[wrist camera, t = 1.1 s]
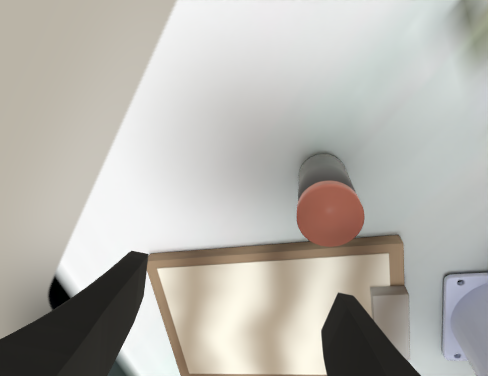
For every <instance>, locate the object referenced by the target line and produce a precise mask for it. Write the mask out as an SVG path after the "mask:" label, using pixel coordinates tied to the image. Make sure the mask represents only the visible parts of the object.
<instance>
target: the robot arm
mask: <svg viewBox="0 0 488 376" xmlns="http://www.w3.org/2000/svg"><path fill="white" fill-rule="evenodd" d="M148 255H149V254H145V253H140V252H135V251H131V252H129V253H128V254H127V255H126V256H125V257H123V258H122V259H121V260H120V261H119V262H118V263H116V264H115V265H114V266H113V267H112V268H111V269H109V270H108V271H107V272H106V273H104V274H103V275H102V276H101V277H99V278H98V279H97V280H95V281H94V282H93V283H92V284H90V285H89V286H88V287H86V288H85V289H84V290H82V291H81V292H79V293H78V294H76V295H75V296H74V297H72V298H71V299H69V300H68V301H66V302H65V303H63V304H62V305H60V306H59V307H57V308H56V309H54V310H52V311H51V312H50V313H48V314H46V315H44V316H43V317H41V318H39V319H37V320H36V321H34V322H32V323H30V324H28V325H27V326H25V327H23V328H21V329H19V330H17V331H16V332H14V333H12V334H10V335H8V336H6V337H4V338H2V339H0V376H107V375H108V373H109V371H110V369H111V367H112V365H113V363H114V361H115V359H116V357H117V355H118V353H119V351H120V349H121V347H122V345H123V343H124V341H125V339H126V337H127V335H128V333H129V331H130V329H131V327H132V325H133V323H134V321H135V318H136V316H137V313H138V310H139V308H140V305H141V302H142V299H143V296H144V288H145V280H146V272H147V263H148ZM458 280H462V281H461V282H457V281H458ZM321 338H322V349H323V359H324V364H325V368H326V373H327V376H421V375H420V374H419V373H418V372H417V371H416V370H415V369H414V368H413V367H412V366H411V364H410V363H409V362H408V361H407V360H406V359H405V358H404V357H403V355H402V354H401V353H400V352H399V351H398V350H397V348H396V347H395V346H394V345H393V344H392V343H391V341H390V340H389V339H388V338H387V336H386V335H385V334H384V333H383V332H382V330H381V329H380V328H379V327H378V325H377V324H376V323H375V322H374V320H373V319H372V318H371V316H370V315H369V314H368V313H367V311H366V310H365V309H364V308H363V306H362V305H361V304H360V303H359V301H358V300H357V299H356V298H355V297H354V296H353V295H348V294H343V293H339V292H338V294H337V296H336V298H335V300H334V303H333V305H332V307H331V309H330V312H329V314H328V316H327V318H326V321H325V323H324V325H323V327H322V330H321ZM442 353H443V356H444V358H445V359H447V360H468V361H469V363H470V365H471V367H472V368H473V370H474V372H475V374H476V375H477V376H488V273H471V274H451V275H448V276H446V277H445V278H444V299H443V343H442ZM457 353H458V354H457ZM455 354H456V355H455Z"/></svg>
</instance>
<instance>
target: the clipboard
mask: <svg viewBox="0 0 488 376" xmlns="http://www.w3.org/2000/svg"><path fill="white" fill-rule="evenodd" d="M147 272H148V275H149V278H150V281H151V284H152V287H153V291H154V294H155V297H156V300H157V303H158V306H159V309H160V312H161V316H162V319H163V322H164V325H165V328H166V331H167V334H168V337H169V341H170V344H171V347H172V350H173V353H174V356H175V359H176V362H177V366H178V369H179V372H180V375H181V376H327V373H326V368H325V364H324V359H323V349H322V338H321V330H322V327H323V325H324V323H325V321H326V318H327V316H328V314H329V312H330V309H331V307H332V305H333V303H334V300H335V298H336V296H337V294H338V292H339V293H343V294H348V295H353V296H354V297H355V298H356V299H357V300H358V301H359V303H360V304H361V305H362V306H363V308H364V309H365V310H366V311H367V313H368V314H369V315H370V316H371V318H372V319H373V320H374V322H375V323H376V324H377V325H378V327H379V328H380V329H381V330H382V332H383V333H384V334H385V335H386V336H387V338H388V339H389V340H390V341H391V343H392V344H393V345H394V346H395V347H396V348H397V350H398V351H399V352H400V353H401V354H402V355H403V357H404V358H405V359H410V331H409V294H408V292H407V290H406V287H405V286H404V250H403V242H402V240H401V238H400V236H399V235H390V236H377V237H364V238H354V239H352V240H351V241H349V242H348V243H346V244H343V245H340V246H334V247H326V246H320V245H317V244H315V243H313V242H298V243H285V244H271V245H258V246H245V247H232V248H219V249H206V250H193V251H179V252H166V253H153V254H150V255H149V256H148V263H147Z"/></svg>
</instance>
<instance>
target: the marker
mask: <svg viewBox="0 0 488 376" xmlns="http://www.w3.org/2000/svg"><path fill="white" fill-rule="evenodd" d="M363 223H364V210H363V207H362V205H361V202H360V200H359V198H358V196H357V194H356V193H355V190H354V188H353V186H352V183H351V181H350V178H349V176H348V173H347V171H346V169H345V166H344V165H343V163H342V162H341V161H340V160H339V159H338V158H336V157H334V156H332V155H328V154H318V155H315V156H312V157H310V158H309V159H307V160H306V161H305V162H304V163H303V165H302V166H301V168H300V171H299V184H298V204H297V224H298V227H299V229H300V231H301V233H302V234H303V235H304V236H305V237H306V238H307V239H308V240H309V241H311V242H313V243H315V244H317V245H320V246H326V247H334V246H340V245H343V244H346V243H348V242H349V241H351V240H352V239H354V238H355V237H356V236H357V235H358V233H359V232H360V231H361V229H362V226H363Z"/></svg>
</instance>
